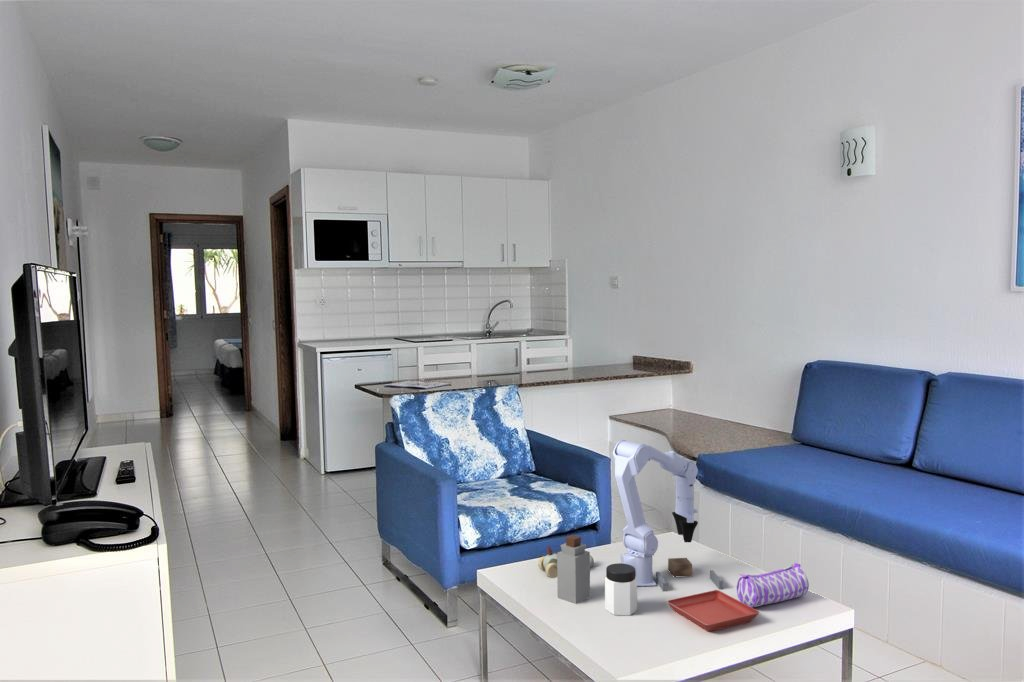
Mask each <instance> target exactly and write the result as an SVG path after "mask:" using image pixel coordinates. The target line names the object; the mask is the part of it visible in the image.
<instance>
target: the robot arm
mask: <svg viewBox="0 0 1024 682" xmlns="http://www.w3.org/2000/svg"><path fill="white" fill-rule="evenodd" d="M612 457H613V459H614V460H613V461H614V476H615V478H614V479H615V481H616V484H617V490H618V495H619V497H620V501H621V505H622V509H623V513H624V516H625V517H624V518H625V520H626V521H625V522H626V525H625V526H624V527H623V529H622V534H623V537H622V543H623V546H624V547H625V548H626V553H622V554H621V556H620V563H622V564H628V565H631V566H633V567H634V568H635V572H636V576H635V577H636V578H637V587H652V586H654V587H656V586H657V582H655V581H656V580H654V578H653V556H655V554H656V552H657V550H658V548H659V541H658V538H657V537H656V535H655V533H654V530H653V529H652V528H651V527H650V526H649V524H647V522H646V519H645V514H644V512H643V507H642V503H641V500H640V495H639V492H638V487H637V482H636V478H635V476H637V475H639V474H640V473H641V472H642V470H643V469H644V467H645V466H646V464H647V463H648V462H650V461H654V462H655V463H656V462H657V463H658V464H659V466H660V468H661V469H663V470H665V471H667V472H669V473H672V475H673V476H675V508H674V511H672V512H671V514H672V516H673V518H674V522H675V526H676V527H675V528H676V531H677V535H679V536H681V535H682V536H683V537H682V539H683V541H684V543H692V541H693V536H694V532H695V530H696V527H697V526H698V525H699V524H698V523H699V522H698V521H697V520H695V517H694V515H695V514H696V513H697V514H698V510H697V509H696V508H694V507H695V505H694V504H695V501H694V500H695V499H694V498H695V495H694V494H695V488H694V487H695V484H696V480H697V479H696V477H697V476H698V472H699V468H698V467H697V465H696V462H695V461H692V460H688V459H686V458H685V456H683V455H680V456H679V455H678V454H677V452H675V451H671V450H670V451H666V452H663V451H661V450H658V449H656V448H655V447H653V446H651V445H648V444H645V443H640V442H639V443H638V442H633V441H628V440H626V439H621V440H619V441H618V442H616V444H615V446H614V448H613V451H612Z"/></svg>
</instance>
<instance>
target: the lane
mask: <svg viewBox="0 0 1024 682" xmlns="http://www.w3.org/2000/svg"><path fill="white" fill-rule="evenodd" d="M709 579H710V580H711V581H712V582H713V584H714V585H715V586H716V587H717V589H718V590H723V580H722V579H721V578H720V576H719V575H718V574H717V573H716V572H715V570H714V569H710V570H709ZM655 581H656V583H657V582H658V583H657V584H658V586H659V585H660V586H659V587H660V589H661V591H662V592H667V582H666V580H665V579H664V577H663V576H662V574H661V572H660V571H656V572H655Z"/></svg>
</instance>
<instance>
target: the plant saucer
mask: <svg viewBox="0 0 1024 682" xmlns="http://www.w3.org/2000/svg"><path fill="white" fill-rule="evenodd" d="M666 602H667V604H668V605H669V607H670V608H671V609H672V611H674V612H675V613H676V612H677V615H679V616H681V617H683V618H684V619H686V620H687V621H689V620H690V621H689V622H691V623H692V624H694V625H696V626H697V627H699V628H701V629H703V630H704V631H706V632H713V631H714V632H715V631H717V630H721V629H724V628H725V629H726V628H729V627H733V626H737V625H742V624H746V623H749V622H752V621H753V620H754V619H755V618H756V617H757V616H758V615H759V614H760V611H759V610H758V609H755V607H750V606H748V605H746V604H744V603H742V602H741V601H740V600H739V599H736V598H734V597H732V596H730V595H728V594H726V593H725V592H723V591H721V590H720V589H713V590H709V591H705V592H701V593H696V594H691V595H687V596H682V597H677V598H673V599H669V600H667V601H666Z"/></svg>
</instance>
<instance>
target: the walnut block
mask: <svg viewBox="0 0 1024 682" xmlns="http://www.w3.org/2000/svg"><path fill="white" fill-rule="evenodd" d="M667 569H668V570H669V571H670V572H669V571H668V570H667V571H668V572H669V573H670V574H671V576H672V575H673V576H674V577H673V576H672V577H673V578H677V577H676V576H688V577H693V563H692V562H691V561H690V560H689V558H687V557H676V558H673V557H672V558H668V559H667Z"/></svg>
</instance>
